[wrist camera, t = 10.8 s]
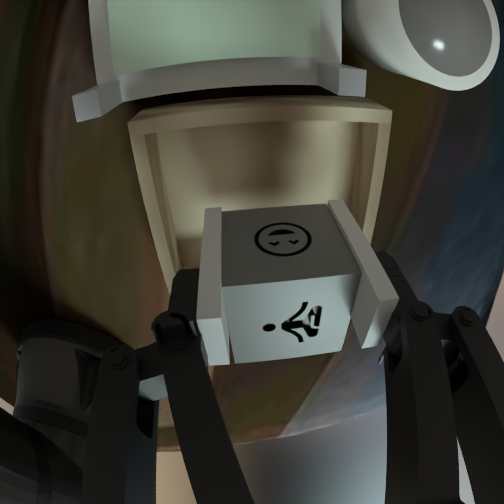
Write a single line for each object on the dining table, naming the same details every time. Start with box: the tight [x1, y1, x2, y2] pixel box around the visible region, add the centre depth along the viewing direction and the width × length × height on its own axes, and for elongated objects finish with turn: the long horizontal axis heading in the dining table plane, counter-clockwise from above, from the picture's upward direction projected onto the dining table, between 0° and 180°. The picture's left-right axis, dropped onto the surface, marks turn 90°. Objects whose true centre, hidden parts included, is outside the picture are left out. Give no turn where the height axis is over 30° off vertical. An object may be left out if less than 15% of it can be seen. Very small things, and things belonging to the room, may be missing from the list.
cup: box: [341, 0, 500, 90], centre depth 10 cm, size 7×7×5 cm
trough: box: [127, 95, 392, 294], centre depth 17 cm, size 12×11×3 cm
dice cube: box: [222, 204, 362, 363], centre depth 14 cm, size 5×5×5 cm
